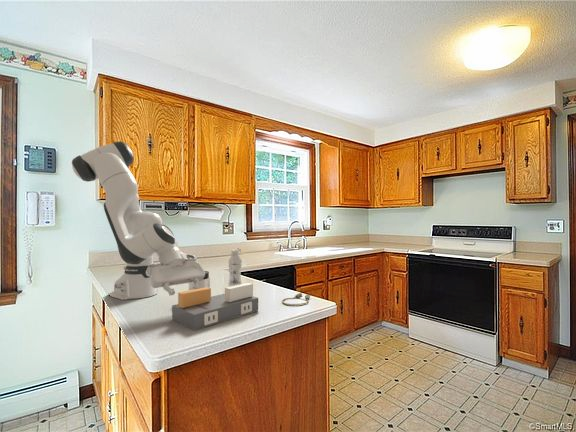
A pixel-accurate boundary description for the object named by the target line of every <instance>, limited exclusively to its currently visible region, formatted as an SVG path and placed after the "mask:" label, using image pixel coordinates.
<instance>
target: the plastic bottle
mask: <svg viewBox="0 0 576 432" xmlns="http://www.w3.org/2000/svg"><path fill="white" fill-rule="evenodd" d="M230 255H231V256H230V257H229V259H228V268H229V269H228V271H229V278H228V279H229V280H228V286H227V287H231V286H235V285H240V284H243V283H242V277H241V275H242V273H241V272H242V266H243V265H242V264H243V261H242V259H241V257H240V256H239V255H240V250H238V249H237V250H231V252H230Z"/></svg>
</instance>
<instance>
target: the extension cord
mask: <svg viewBox="0 0 576 432" xmlns="http://www.w3.org/2000/svg"><path fill="white" fill-rule="evenodd" d="M302 296H303V293H302V292H299V293H297V294H296V295H295V296H294V297H287V298H284V299H282V300H281V304H283V305H285V306H288V307H299V306H306V305H308V304H309V299H310V298H311V296H310V294H305V296H304V298H305V299H304V298H300V297H302ZM291 299H292V300H293V299H294V300H302V301H305V302H303V303H286V302H285V301H286V300H291Z"/></svg>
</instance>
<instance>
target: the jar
mask: <svg viewBox="0 0 576 432" xmlns="http://www.w3.org/2000/svg"><path fill="white" fill-rule="evenodd" d="M204 271H205V276H204V278H203V280H202V281H199V282H198V286H199V288H205V287H208V288H211V278H210V272H209V270H204ZM194 285H195V284H194V283H193V282H190V283H188V291H189V290H194V289H193V287H194Z"/></svg>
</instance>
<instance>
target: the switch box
mask: <svg viewBox="0 0 576 432" xmlns="http://www.w3.org/2000/svg"><path fill="white" fill-rule="evenodd" d="M258 311H259V297H257V296H254V295H253V296H251V297H247V298H243V299H240V300H236V301H232V302H228V301H225V293H221V294H216V295H211V301H210V302H206V303H202V304H197V305H193V306H189V307H185V308H181V307H179V306H178V303H177V304H173V305H171V315H172V316H171V319H172V320H173V321H174V322H176V323H178V324H180V325H182V326H184V327H186V328H188V329H190V330H192V331H197V330H200V329H204V328H206V327H210V326H214V325H217V324H220V323H224V322H226V321H231V320H232V319H233V320H234V319H237V318H240V317H242V316H246V315H249V314H252V313H256V312H258Z"/></svg>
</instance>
